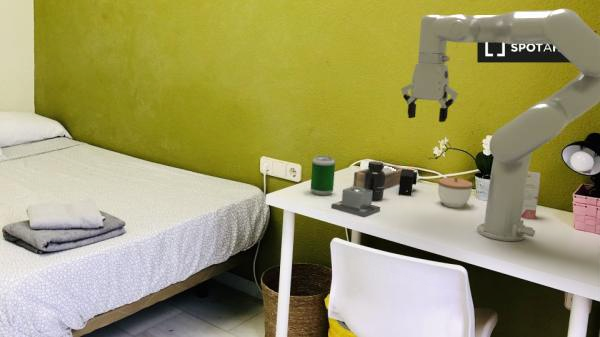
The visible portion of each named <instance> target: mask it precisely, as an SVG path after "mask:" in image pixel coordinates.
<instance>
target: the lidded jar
mask: <svg viewBox="0 0 600 337" xmlns="http://www.w3.org/2000/svg"><path fill="white" fill-rule="evenodd" d="M437 189H438V196H439V197H438V198H439V199H440V201H441V202H442V203H443V206H446V207H449V208H454V209H455V208H456V209H457V208H458V209H459V208H462V207H463V206H464V205H465V204H466V203H468V201H469V199H470V198H471V195H472V189H473V183H472V182H471V181H469V180H467V179H463V178H459V177H458V176H454V177H443V178H440V179H438V188H437Z"/></svg>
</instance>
